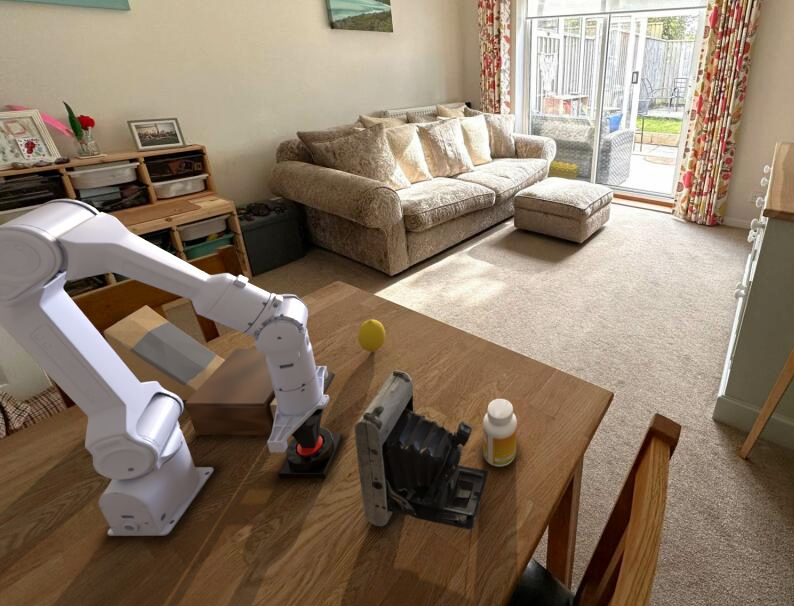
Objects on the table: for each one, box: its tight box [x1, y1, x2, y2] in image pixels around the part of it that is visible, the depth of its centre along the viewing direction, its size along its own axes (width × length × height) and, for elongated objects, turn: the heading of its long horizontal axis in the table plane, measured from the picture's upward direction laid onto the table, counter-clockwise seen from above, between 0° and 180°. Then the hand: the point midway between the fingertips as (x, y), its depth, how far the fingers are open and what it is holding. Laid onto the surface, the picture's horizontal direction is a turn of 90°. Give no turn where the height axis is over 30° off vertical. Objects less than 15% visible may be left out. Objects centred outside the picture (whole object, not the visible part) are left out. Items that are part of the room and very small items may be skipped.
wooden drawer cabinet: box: [184, 347, 274, 436], centre depth 73 cm, size 13×14×7 cm
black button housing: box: [277, 426, 344, 480], centre depth 64 cm, size 7×7×3 cm
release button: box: [297, 436, 323, 457], centre depth 64 cm, size 4×4×2 cm
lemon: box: [357, 319, 386, 352], centre depth 87 cm, size 6×6×8 cm
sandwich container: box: [103, 305, 226, 401], centre depth 76 cm, size 9×15×15 cm, turn 88°
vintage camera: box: [354, 369, 489, 531], centre depth 55 cm, size 10×16×20 cm, turn 79°
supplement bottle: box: [482, 398, 518, 468], centre depth 65 cm, size 5×5×10 cm
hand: (310, 444), depth 63 cm, fingers closed, pressing on release button
